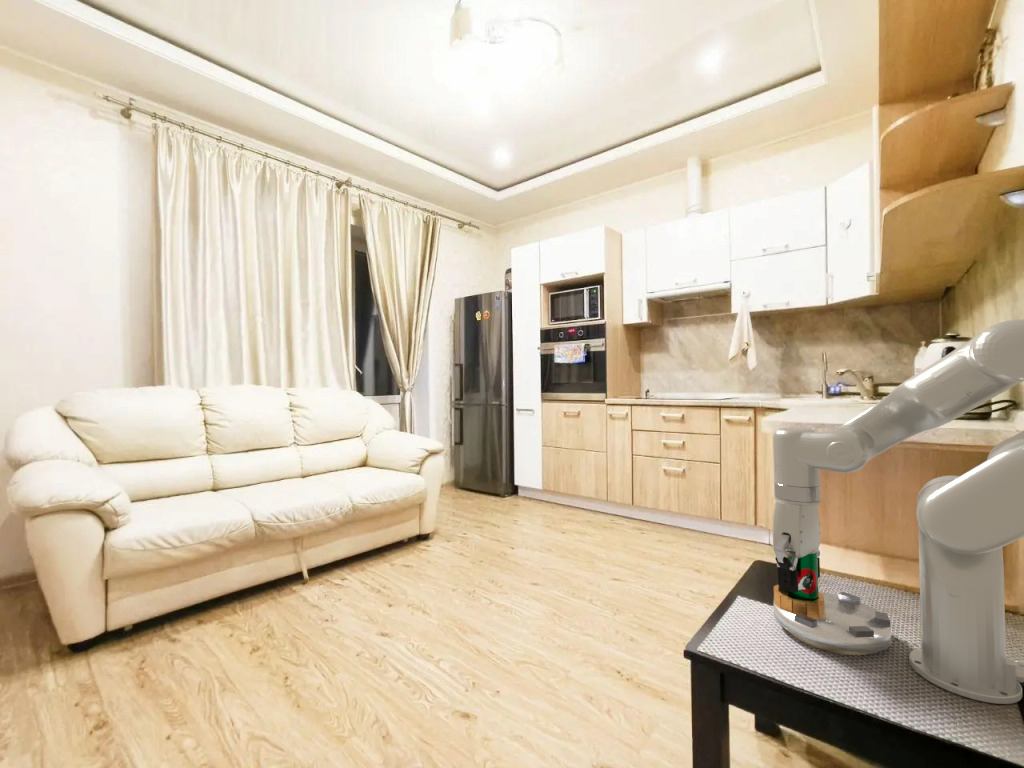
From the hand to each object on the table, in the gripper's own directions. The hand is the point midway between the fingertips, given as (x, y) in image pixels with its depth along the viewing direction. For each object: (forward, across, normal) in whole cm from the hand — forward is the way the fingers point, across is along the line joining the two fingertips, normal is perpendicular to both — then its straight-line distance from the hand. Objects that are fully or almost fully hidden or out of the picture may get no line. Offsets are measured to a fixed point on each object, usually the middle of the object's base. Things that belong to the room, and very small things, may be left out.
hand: (799, 582), depth 86 cm
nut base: (+9, -3, +4) cm, 10 cm away
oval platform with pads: (+8, -3, +4) cm, 9 cm away
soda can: (+5, -2, 0) cm, 5 cm away
